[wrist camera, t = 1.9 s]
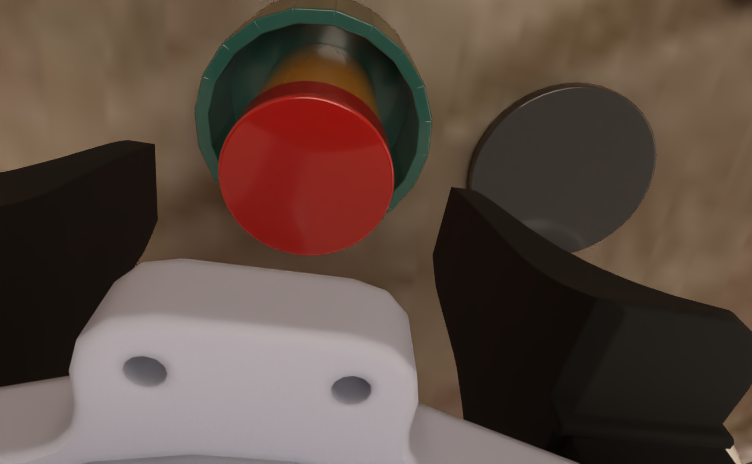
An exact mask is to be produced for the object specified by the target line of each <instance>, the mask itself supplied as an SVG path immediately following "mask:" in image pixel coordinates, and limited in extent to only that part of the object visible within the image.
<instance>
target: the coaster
mask: <svg viewBox="0 0 752 464" xmlns="http://www.w3.org/2000/svg"><path fill="white" fill-rule="evenodd" d="M655 162H656V146H655V140H654V136H653V132H652V130H651V127H650V125H649V122H648V121H647V119H646V118H645V116H644V114H643V113H642V112H641V111H640V110H639V109H638V107H637V106H636V105H634V104H633V103H632V102H631V101H629V100H628V99H627V98H625V97H624V96H622V95H620V94H618V93H617V92H615V91H613V90H611V89H608V88H605V87H603V86H599V85H594V84H589V83H567V84H560V85H555V86H550V87H547V88H544V89H541V90H538V91H536V92H534V93H532V94H530V95H528V96H525V97H524V98H522V99H521V100H519V101H517V102H516V103H514V104H513V105H511V106H510V107H509V108H508V109H506V110H505V111H504V112H503V113H502V114H501V115H500V116H499V117H498V118H497V119H496V120H495V121H494V122H493V123H492V124H491V126H490V127H489V128H488V129H487V131H486V132H485V133H484V135H483V137H482V138H481V140H480V142H479V143H478V146H477V148H476V150H475V152H474V155H473V158H472V161H471V164H470V170H469V176H468V190H475V191H477V192H479V193H481V194H483V195H484V196H486V197H487V198H489V199H490V200H492V201H493V202H494V203H496V204H497V205H498V206H500V207H501V208H503V209H504V210H505V211H507V212H508V213H509V214H511V215H512V216H513V217H515V218H516V219H518V220H519V221H520V222H522V223H523V224H525V225H526V226H527V227H529V228H530V229H532V230H533V231H535V232H536V233H538V234H539V235H541V236H542V237H544V238H546V239H547V240H549V241H550V242H552V243H553V244H555V245H557V246H558V247H560V248H562V249H564V250H565V251H567V252H569V253H572V252H576V251H579V250H582V249H584V248H587V247H589V246H592V245H594V244H595V243H597V242H599V241H601V240H603V239H604V238H606V237H607V236H609V235H610V234H612V233H613V232H614V231H616V230H617V229H618V228H619V227H620V226H622V225H623V224H624V223H625V222H626V221H627V220H628V219H629V218H630V216H631V215H632V214H633V213H634V212H635V210H636V209H637V208H638V206H639V205H640V203H641V202H642V200H643V199H644V197H645V195H646V193H647V191H648V189H649V186H650V183H651V181H652V178H653V174H654V169H655Z"/></svg>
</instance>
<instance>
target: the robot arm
mask: <svg viewBox="0 0 752 464" xmlns="http://www.w3.org/2000/svg"><path fill="white" fill-rule="evenodd" d="M157 220H158V216H157V190H156V163H155V144H150V143H143V142H136V141H130V140H125V141H118V142H113V143H109V144H105V145H102V146H98V147H95V148H92V149H88V150H85V151H81V152H78V153H75V154H71V155H68V156H65V157H61V158H58V159H54V160H50V161H46V162H42V163H39V164H35V165H31V166H27V167H23V168H19V169H15V170H11V171H6V172H1V173H0V464H736V463H735V462H734V460H733V459H732V458H731V456H730V455H729V453H728V452H727V451H726V449H731V447H732V446H733V445H734V439H733V437H732V436H731V435H730V433H729V432H728V431H727V429H726V428H725V427H724V425H723V422H724V421H725V420H726V418H727V417H728V416H729V414H730V413H731V412H732V410H733V409H734V408H735V406H736V405H737V404H738V402H739V401H740V400H741V399H742V397H743V396H744V395H745V393H746V392H747V391H748V389H749V388H750V386H751V384H752V331H751V330H750V329H749V328H748V327H747V326H746V325H745V324H744V323H743V322H742V321H741V320H740V319H739V318H738V317H737V316H736V315H735V314H734V313H733V312H731V311H729V310H726V309H722V308H719V307H715V306H711V305H707V304H703V303H700V302H696V301H692V300H688V299H684V298H681V297H677V296H674V295H670V294H667V293H664V292H661V291H658V290H655V289H652V288H649V287H646V286H643V285H641V284H638V283H635V282H633V281H630V280H627V279H625V278H622V277H620V276H618V275H615V274H613V273H611V272H608V271H606V270H603V269H601V268H599V267H597V266H595V265H592V264H590V263H588V262H586V261H584V260H582V259H580V258H579V257H577V256H575V255H573V254H571V253H569V252H567V251H565V250H564V249H562V248H560V247H558V246H557V245H555V244H553V243H552V242H550V241H549V240H547V239H546V238H544V237H542V236H541V235H539V234H538V233H536V232H535V231H533V230H532V229H530V228H529V227H527V226H526V225H525V224H523V223H522V222H520V221H519V220H518V219H516V218H515V217H513V216H512V215H511V214H509V213H508V212H507V211H505V210H504V209H503V208H501V207H500V206H498V205H497V204H496V203H494V202H493V201H492V200H490V199H489V198H487V197H486V196H484V195H483V194H481V193H479V192H477V191H475V190H468V189H461V188H454V187H451V190H450V194H449V198H448V201H447V205H446V208H445V212H444V216H443V219H442V223H441V227H440V230H439V234H438V238H437V241H436V245H435V248H434V252H433V264H434V275H435V284H436V289H437V293H438V297H439V301H440V305H441V308H442V312H443V316H444V319H445V323H446V327H447V330H448V334H449V338H450V342H451V345H452V349H453V353H454V357H455V362H456V366H457V372H458V379H459V386H460V393H461V400H462V409H463V417H464V419H461V418H458V417H456V416H453V415H451V414H448V413H445V412H443V411H440V410H437V409H435V408H432V407H429V406H427V405H424V404H422V403H419V402H418V387H417V372H416V366H415V359H414V352H413V346H412V339H411V332H410V326H409V319H408V314H407V313H406V312H405V311H404V310H403V308H402V307H401V306H400V305H399V304H398V303H397V302H396V300H395V299H394V298H393V297H392V296H391V295H390V294H389V292H388V291H386V290H384V289H381V288H378V287H375V286H372V285H369V284H366V283H364V282H361V281H358V280H355V279H352V278H344V277H336V276H328V275H319V274H311V273H302V272H294V271H285V270H277V269H269V268H260V267H252V266H243V265H235V264H227V263H218V262H210V261H201V260H193V259H185V258H180V259H170V260H160V261H149V262H142V263H141V264H139V265H138V266H136V267H135V265H136V263H137V262H138V260H139V259H140V257H141V256H142V254H143V252H144V251H145V248H146V246H147V244H148V242H149V240H150V237H151V235H152V233H153V230H154V228H155V225H156V223H157ZM134 267H135V268H134ZM133 268H134V269H133ZM747 464H752V462H749V463H747Z"/></svg>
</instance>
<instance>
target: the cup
mask: <svg viewBox="0 0 752 464" xmlns="http://www.w3.org/2000/svg"><path fill="white" fill-rule="evenodd" d="M308 44H327V45H332V46H335V47H338V48H341V49H343V50H345V51H347V52H349V53H350V54H352V55H353V56H354V57H355V58H357V59H358V60H359V61H360V62H361V63H362V64H363V66H364V67H365V68H366V70H367V71H368V73H369V74H370V76H371V78H372V81H373V84H374V87H375V91H376V96H377V102H378V109H379V115H380V121H381V124H382V126H383V128H384V130H385V132H386V135H387V138H388V141H389V145H390V150H391V156H392V161H393V166H394V177H395V181H394V191H393V195H392V199H391V202H390V205H389V207H388V210H387V212H389V211H391V210H392V209H393V208H394V207H395V206H396V205H397V204H398V203H399V202H400V201H401V200H402V198H403V197H404V196H405V195H406V194H407V193H408V192H409V191H410V190H411V189H412V188H413V186H414V185H415V183H416V181H417V179H418V177H419V175H420V172H421V170H422V168H423V166H424V164H425V161H426V159H427V157H428V154H429V146H430V137H431V128H432V116H431V112H430V107H429V102H428V98H427V93H426V89H425V85H424V82H423V80H422V78H421V76H420V74H419V72H418V70H417V68H416V66H415V64H414V62H413V60H412V58H411V56H410V54H409V53H408V51H407V49H406V47H405V46H404V44H403V43H402V41H401V39H400V38H399V36H398V34H397V33H396V32H395V30H394V29H393V28H391V26H390V25H389V24H388V23H387V22H386V21H384V20H383V19H382V18H381V17H380V16H379V15H377V14H376V13H375V12H373V11H372V10H370V9H369V8H367V7H365V6H363V5H362V4H360V3H358V2H356V1H353V0H279V1H277V2H274V3H271V4H270V5H268V6H267V7H265V8H264V9H262V10H261V11H260V12H259V13H257V14H256V15H255V16H253V17H252V18H251V19H249V20H248V21H247V22H245V23H244V24H243V25H242V26H241V27H240V28H239V29H238V30H236V31H235V32H234V33H233V34H232V35H231V36H230V37H229V38H228V39H226V40H225V41H224V43H222V45H221V46H220V48H219V49H218V51H217V52H216V54H215V56H214V57H213V59H212V60H211V62H210V63H209V65H208V67H207V68H206V70H205V71H204V73H203V76H202V78H201V83H200V87H199V92H198V97H197V101H196V106H195V120H196V128H197V136H198V144H199V147H200V151H201V153H202V155H203V157H204V159H205V161H206V163H207V165H208V168H209V170H210V172H211V174H212V176H213V178H214V179H215V181H216V182H217V183H218V184H219V179H218V162H219V157H220V152H221V149H222V146H223V143H224V141H225V139H226V137H227V135H228V134H229V132H230V130H231V128H232V127H233V125H234V123H235V121H236V120H237V118H238V116H239V115H240V113H241V112H242V111H243V110H244V108H245V107H246V106H247V105H248V104H249V103H250V102H251V101H252V100H253V99H254V98H256V96H257V94H258V92H259V90H260V89H261V87H262V85H263V83H264V81H265V80H266V78H267V76H268V74H269V72H270V71H271V69H272V67H273V66H274V65H275V63H276V62H277V61H278V60H279V59H280V58H281V57H282V56H283V55H285V54H286V53H287V52H289V51H291V50H293V49H295V48H297V47H300V46H303V45H308ZM387 212H386V213H387ZM386 213H385V214H386Z"/></svg>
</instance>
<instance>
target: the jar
mask: <svg viewBox="0 0 752 464" xmlns="http://www.w3.org/2000/svg"><path fill="white" fill-rule="evenodd" d="M218 179H219V186H220V190H221V194H222V196H223V199H224V201H225V204H226V206H227V208H228V209H229V211H230V213H231V214H232V216H233V217H234V219H235V220H236V221H237V223H238V224H239V225H240V226H241V227H242V228H243V229H244V230H245V231H246V232H248V233H249V234H250V235H251V236H252V237H254V238H255V239H257V240H258V241H260V242H261V243H263V244H265V245H267V246H269V247H271V248H274V249H277V250H279V251H283V252H287V253H290V254H297V255H311V256H313V255H324V254H329V253H334V252H337V251H340V250H343V249H346V248H348V247H350V246H352V245H354V244H356V243H357V242H359V241H361V240H362V239H363V238H365V237H366V236H367V235H368V234H370V233H371V232H372V231H373V230H374V228H375V227H376V226H377V225H378V224H379V223H380V221H381V220H382V219H383V217H384V215H385V213H386V212H387V210H388V207H389V205H390V202H391V199H392V195H393V191H394V181H395V177H394V166H393V161H392V156H391V150H390V145H389V141H388V138H387V135H386V132H385V130H384V128H383V126H382V124H381V121H380V115H379V109H378V102H377V96H376V91H375V87H374V84H373V81H372V78H371V76H370V74H369V73H368V71H367V70H366V68H365V67H364V66H363V64H362V63H361V62H360V61H359V60H358V59H357V58H355V57H354V56H353V55H352V54H350V53H349V52H347V51H345V50H343V49H341V48H338V47H335V46H332V45H327V44H308V45H303V46H300V47H297V48H295V49H293V50H291V51H289V52H287V53H286V54H285V55H283V56H282V57H281V58H280V59H279V60H278V61H277V62H276V63H275V65H274V66H273V67H272V69H271V71H270V72H269V74H268V76H267V78H266V80H265V81H264V83H263V85H262V87H261V89H260V90H259V92H258V94H257V96H256V98H254V99H253V100H252V101H251V102H250V103H249V104H248V105H247V106H246V107H245V108H244V110H243V111H242V112H241V113H240V115H239V116H238V118H237V120H236V121H235V123H234V125H233V127H232V128H231V130H230V132H229V134H228V135H227V137H226V139H225V141H224V143H223V146H222V149H221V152H220V157H219V162H218Z"/></svg>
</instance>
